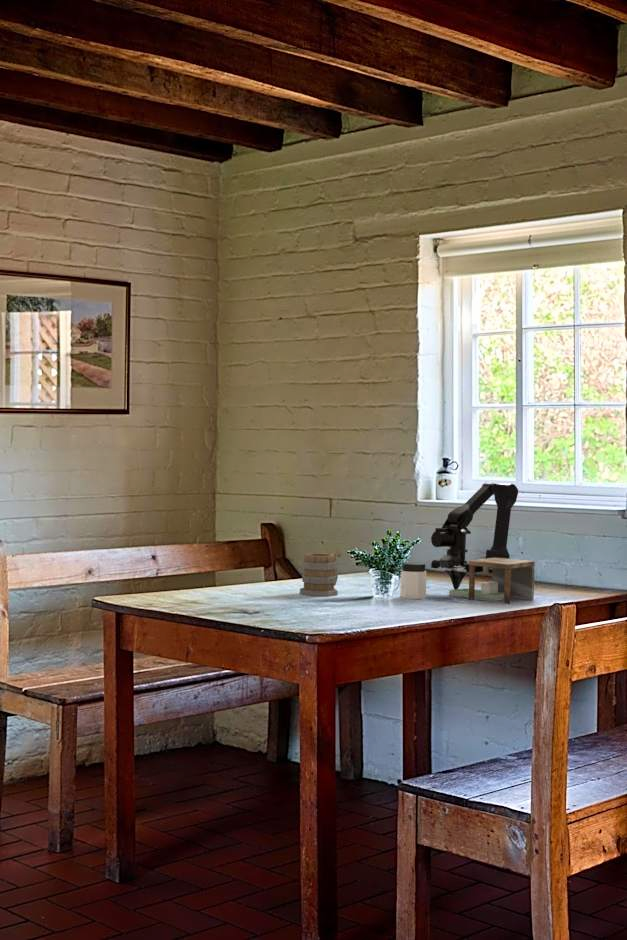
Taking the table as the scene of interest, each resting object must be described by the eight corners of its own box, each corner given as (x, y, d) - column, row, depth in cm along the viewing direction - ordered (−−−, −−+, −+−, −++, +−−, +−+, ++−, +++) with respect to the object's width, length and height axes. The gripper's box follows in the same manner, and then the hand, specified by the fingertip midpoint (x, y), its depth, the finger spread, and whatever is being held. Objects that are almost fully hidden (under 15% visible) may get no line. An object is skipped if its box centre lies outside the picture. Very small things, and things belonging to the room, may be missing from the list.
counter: (493, 595, 458) (494, 557, 458) (533, 599, 448) (534, 561, 448) (467, 599, 444) (468, 560, 443) (508, 604, 434) (509, 564, 434)
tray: (464, 593, 461) (464, 578, 460) (507, 598, 449) (508, 582, 449) (449, 595, 453) (449, 580, 453) (493, 601, 442) (493, 584, 441)
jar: (397, 596, 449) (398, 562, 449) (418, 595, 451) (419, 561, 451) (406, 599, 440) (407, 564, 440) (428, 599, 443) (429, 564, 442)
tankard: (322, 597, 440) (323, 554, 440) (293, 594, 448) (294, 551, 447) (355, 592, 456) (356, 550, 456) (327, 589, 464) (328, 548, 463)
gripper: (423, 545, 456) (421, 589, 457) (468, 549, 444) (466, 594, 445) (440, 543, 465) (438, 586, 465) (484, 548, 453) (482, 592, 454)
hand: (455, 590), depth 457 cm, fingers closed
